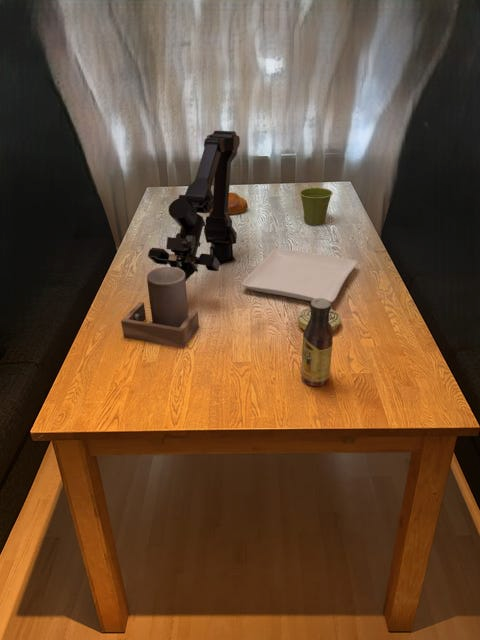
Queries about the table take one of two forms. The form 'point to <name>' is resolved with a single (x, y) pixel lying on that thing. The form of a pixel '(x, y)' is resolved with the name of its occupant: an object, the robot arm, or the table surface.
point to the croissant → (236, 204)
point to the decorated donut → (306, 314)
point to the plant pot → (315, 204)
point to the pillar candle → (168, 296)
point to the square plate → (300, 275)
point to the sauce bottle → (317, 344)
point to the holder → (158, 329)
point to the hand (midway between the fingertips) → (176, 289)
